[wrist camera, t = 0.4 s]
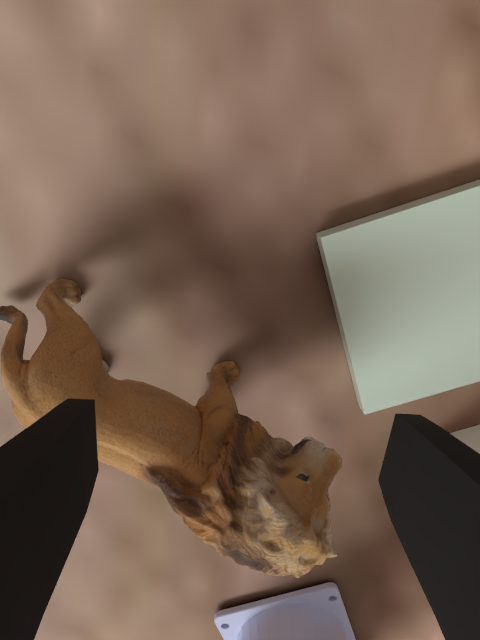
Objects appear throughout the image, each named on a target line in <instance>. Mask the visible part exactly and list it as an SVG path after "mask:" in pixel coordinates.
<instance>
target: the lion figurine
mask: <svg viewBox="0 0 480 640" xmlns="http://www.w3.org/2000/svg"><path fill="white" fill-rule="evenodd" d="M80 295H81V290H80V288H79V287H78V285H77V283H76V282H74V281H72V280H68V279H58V280H56V281H54V282H52V283H51V284H49V285H48V286H47V287H46V289H45V290H44V292H43V293H42V295H41V296H40V298H39V299H38V301H37V304H36V306H37V308H38V309H39V310H40V311H41V312H42V314H43V315H44V317H45V320H46V326H47V332H46V335H45V337H44V339H43V341H42V342H41V344H40V345H39V347H38V348H37V350H36V351H35V353H34V354H33V355H32V357H31V360H30V361H29V360H23V350H24V345H25V337H26V333H27V328H28V327H27V326H28V320H27V317H26V316H25V314H24V313H22V312H21V311H19V310H18V309H17V308H15V307H14V306H12V305H10V306H1V307H0V320H4V321H7V322H9V323H11V324H12V326H11V328H10V330H9V332H8V334H7V336H6V339H5V342H4V345H3V348H2V353H1V374H2V379H3V383H4V385H5V387H6V390H7V392H8V394H9V395H10V397H11V405H12V410H13V412H14V414H15V416H16V417H17V419H18V420H19V422H20V423H21V424H22V426H23V427H24V428H25V429H26V428H28V427H29V426H30V425H32V424H33V423H34V422H36V421H37V420H38V419H40V418H41V417H42V416H44V415H45V414H47V413H48V412H49V411H51V410H52V409H53V408H55V407H56V406H57V405H59V404H60V403H62V402H63V401H65V400H66V399H68V398H72V399H93V400H95V415H96V433H97V452H98V461H100V462H103V463H105V464H108V465H110V466H113V467H115V468H117V469H119V470H121V471H123V472H125V473H128V474H130V475H132V476H134V477H136V478H138V479H140V480H142V481H145V482H147V483H149V484H151V485H153V486H155V487H157V488H159V489H161V490H162V492H163V493H164V495H165V496H166V498H167V500H168V502H169V503H170V505H171V507H172V509H173V510H174V511H175V512H176V513H177V514H179V515H180V516H182V517H183V521H184V523H185V524H186V525H187V526H188V527H189V528H190V530H191V531H192V532H193V533H194V534H195V535H196V536H197V537H199V538H200V539H203V541H204V543H206V544H208V545H212V546H214V547H215V548H216V549H217V552H218V553H219V554H221V555H222V556H228V557H230V558H232V559H234V561H235V562H236V563H238V564H240V565H247V566H249V567H250V569H252V570H255V571H263V572H264V573H265V574H267V575H273V576H285V575H292V574H293V576H295V577H297V578H299V577H301V576H302V575H304V574H306V573H309V572H310V571H311V570H312V569H313V567H314V566H315V565H321V564H323V563H324V561H325V560H326V558H332V557H337V556H338V555H337V552H336V551H335V549H334V548H333V542H332V527H331V521H330V519H329V510H330V506H331V505H330V499H329V495H328V488H329V486H330V484H331V482H332V480H333V478H334V477H335V475H336V474H337V472H338V471H339V469H340V468H341V465H342V459H341V457H340V455H339V454H338V453H337V452H336V451H335V450H334V449H331V448H327V447H326V446H325V445H324V444H323V443H321V442H319V441H317V440H315V439H314V438H312V437H306V438H304V439H302V440H301V442H299V443H298V444H296V445H295V446H294V447H293V446H292V445H291V444H290V443H289V442H288V441H286V440H285V439H283V438H272V437H271V436H270V435H269V434H268V432H267V430H266V429H265V428H264V427H262V425H261V424H260V422H258V421H256V422H254V421H253V420H251V419H250V418H248V417H247V416H244V415H240V414H239V413H238V410H237V406H236V402H235V399H234V396H233V394H232V391H231V389H230V388H229V387H228V386H230V385H232V384H233V383H234V382H235V381H237V380H238V379H239V375H238V374H239V369H238V367H237V366H236V365H235V363H234V362H233V361H224V362H221V363H218V364H216V365H215V366H213V367H212V369H211V371H210V372H209V373H207V376H206V380H207V387H208V388H207V391H206V393H205V395H204V396H202V397H201V398H200V399H199V400H198V403H197V405H196V407H195V406H192V405H191V404H189V403H188V402H186V401H184V400H183V399H181V398H179V397H177V396H175V395H174V394H172V393H170V392H167V391H165V390H163V389H160V388H158V387H155V386H152V385H149V384H147V383H144V382H139V381H135V380H128V379H126V380H116V379H114V378H113V377H111V376H110V375H109V374H107V373H108V371H109V367H108V365H107V364H106V362H105V361H103V360H102V355H101V350H100V347H99V345H98V342H97V340H96V338H95V336H94V334H93V332H92V330H91V329H90V327H89V326H88V324H87V323H86V322H85V321H84V320H83V319H82V318H81V317H80V316H79V315H78V314H77V313H76V312H75V311H74V310H73V309H72V308H71V306H73V305H75V304H77V303H79V302H80V301H81V296H80Z"/></svg>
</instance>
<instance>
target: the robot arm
mask: <svg viewBox="0 0 480 640" xmlns="http://www.w3.org/2000/svg"><path fill="white" fill-rule="evenodd" d="M97 473H98V452H97V433H96V415H95V400H93V399H72V398H68V399H66V400H65V401H63V402H62V403H60V404H59V405H57V406H56V407H55V408H53V409H52V410H51V411H49V412H48V413H47V414H45V415H44V416H42V417H41V418H40V419H38V420H37V421H36V422H34V423H33V424H32V425H30V426H29V427H28V428H26V429H25V430H23V431H22V432H21V433H19V434H18V435H16V436H15V437H14V438H12V439H11V440H9V441H8V442H7V443H5V444H4V445H2V446H1V447H0V640H34V638H35V635H36V633H37V630H38V627H39V625H40V622H41V620H42V617H43V614H44V612H45V609H46V607H47V605H48V602H49V600H50V598H51V595H52V593H53V591H54V588H55V586H56V583H57V581H58V579H59V576H60V574H61V572H62V569H63V567H64V565H65V562H66V560H67V557H68V555H69V553H70V550H71V548H72V546H73V543H74V541H75V538H76V536H77V534H78V531H79V529H80V526H81V524H82V522H83V519H84V517H85V514H86V512H87V509H88V505H89V502H90V498H91V495H92V492H93V488H94V484H95V481H96V477H97ZM379 484H380V487H381V490H382V494H383V497H384V500H385V504H386V507H387V510H388V513H389V516H390V519H391V521H392V523H393V526H394V528H395V530H396V532H397V535H398V537H399V539H400V541H401V543H402V546H403V548H404V550H405V552H406V554H407V557H408V559H409V561H410V563H411V565H412V567H413V569H414V571H415V574H416V576H417V578H418V580H419V582H420V584H421V586H422V589H423V591H424V593H425V595H426V597H427V599H428V601H429V604H430V606H431V608H432V610H433V612H434V614H435V616H436V619H437V621H438V623H439V626H440V628H441V630H442V633H443V635H444V637H445V640H480V454H479V453H478V452H476V451H475V450H473V449H472V448H470V447H469V446H468V445H466V444H465V443H463V442H462V441H460V440H459V439H457V438H456V437H454V436H453V435H451V434H450V433H448V432H447V431H445V430H444V429H442V428H441V427H439V426H438V425H436V424H435V423H433V422H431V421H430V420H428V419H426V418H425V417H423V416H421V415H412V414H395V418H394V422H393V426H392V430H391V433H390V437H389V441H388V445H387V449H386V453H385V457H384V460H383V464H382V468H381V472H380V476H379ZM214 621H215V624H216V626H217V627H218V629H219V631H220V633H221V635H222V637H223V638H224V640H356V639H355V636H354V633H353V630H352V627H351V624H350V621H349V618H348V615H347V613H346V610H345V607H344V604H343V601H342V598H341V595H340V592H339V589H338V587H337V585H336V584H335V583H332V582H328V583H324V584H320V585H316V586H312V587H309V588H305V589H301V590H297V591H293V592H289V593H285V594H282V595H278V596H274V597H270V598H266V599H262V600H259V601H255V602H251V603H247V604H243V605H239V606H235V607H232V608H228V609H224V610H220V611H218V612H217V613H215V618H214Z"/></svg>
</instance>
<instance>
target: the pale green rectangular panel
mask: <svg viewBox="0 0 480 640" xmlns="http://www.w3.org/2000/svg"><path fill="white" fill-rule="evenodd" d="M315 234H316V238H317V242H318V246H319V250H320V254H321V258H322V262H323V266H324V270H325V274H326V278H327V281H328V285H329V289H330V293H331V297H332V301H333V305H334V309H335V313H336V317H337V321H338V325H339V329H340V333H341V337H342V341H343V345H344V349H345V353H346V357H347V361H348V365H349V369H350V373H351V377H352V381H353V385H354V389H355V393H356V397H357V401H358V404H359V406H360V407H361V409H362V411H363V413H364V415H365V414H369V413H372V412H376V411H379V410H383V409H386V408H390V407H393V406H396V405H400V404H403V403H407V402H410V401H414V400H417V399H421V398H424V397H427V396H431V395H434V394H438V393H441V392H445V391H448V390H452V389H455V388H458V387H462V386H465V385H469V384H472V383H476V382H479V381H480V179H479V180H476V181H473V182H470V183H467V184H464V185H461V186H458V187H455V188H452V189H449V190H446V191H442V192H439V193H436V194H433V195H430V196H427V197H424V198H421V199H418V200H415V201H412V202H409V203H406V204H403V205H400V206H397V207H394V208H391V209H388V210H385V211H382V212H379V213H375V214H372V215H369V216H366V217H363V218H360V219H357V220H354V221H351V222H348V223H345V224H342V225H339V226H336V227H333V228H330V229H327V230H324V231H321V232H318V233H315Z"/></svg>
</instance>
